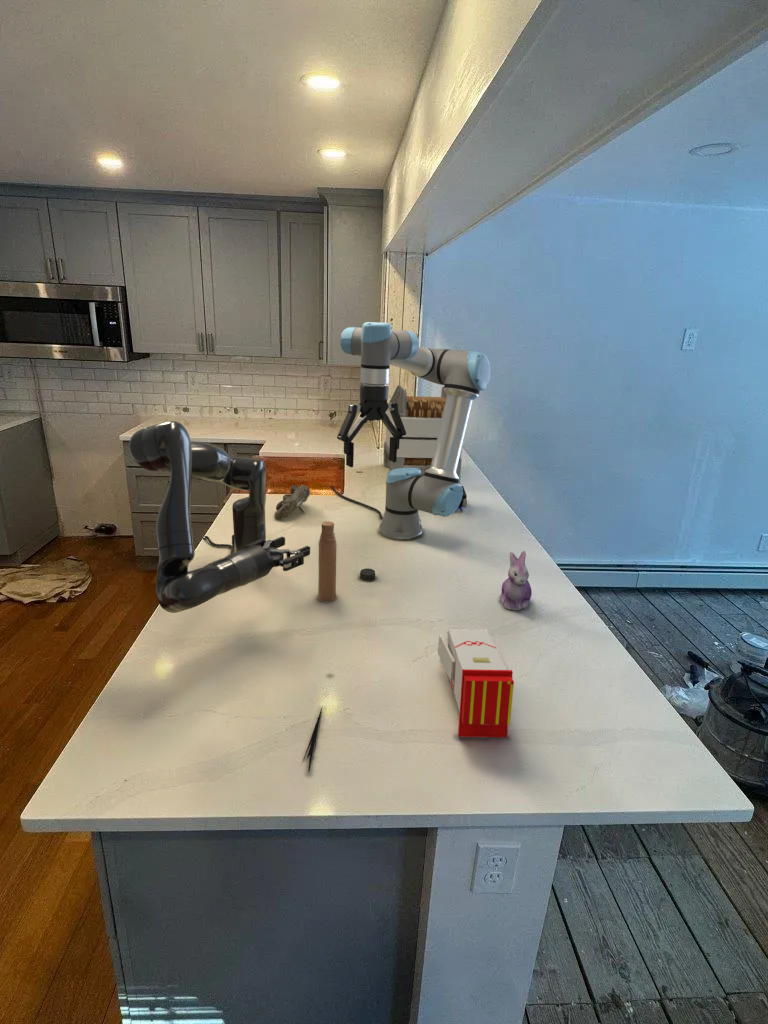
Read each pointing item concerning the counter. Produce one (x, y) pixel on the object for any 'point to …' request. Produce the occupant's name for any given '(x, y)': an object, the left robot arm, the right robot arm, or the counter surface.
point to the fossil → (292, 501)
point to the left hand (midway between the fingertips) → (296, 545)
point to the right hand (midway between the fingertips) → (371, 463)
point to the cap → (367, 574)
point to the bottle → (327, 563)
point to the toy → (478, 682)
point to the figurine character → (463, 500)
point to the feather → (313, 740)
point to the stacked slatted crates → (416, 429)
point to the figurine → (516, 584)
